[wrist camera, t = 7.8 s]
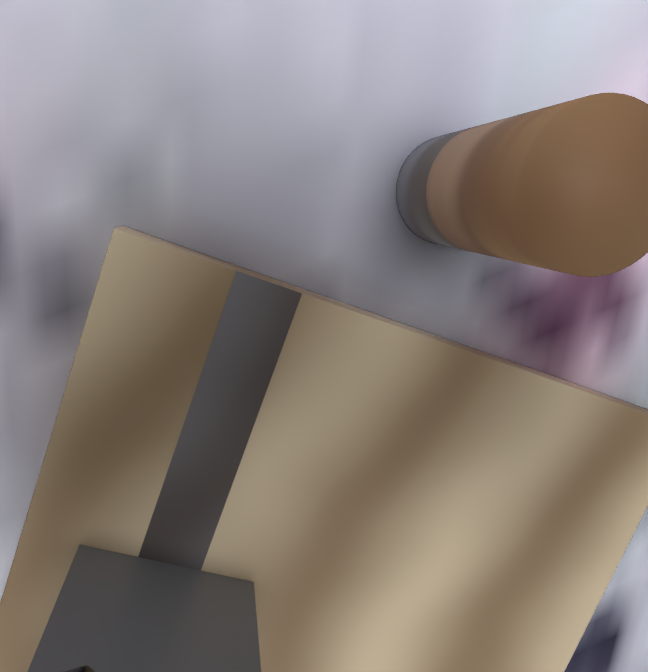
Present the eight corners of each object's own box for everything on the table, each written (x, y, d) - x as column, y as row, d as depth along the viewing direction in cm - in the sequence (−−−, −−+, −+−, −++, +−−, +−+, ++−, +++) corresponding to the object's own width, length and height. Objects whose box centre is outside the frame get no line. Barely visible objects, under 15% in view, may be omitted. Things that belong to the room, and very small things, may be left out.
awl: (512, 211, 17) (702, 222, 10) (424, 263, 17) (558, 308, 10) (470, 114, 16) (647, 57, 9) (377, 169, 16) (490, 151, 9)
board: (659, 413, 19) (687, 427, 18) (494, 748, 22) (510, 780, 21) (122, 225, 15) (113, 228, 14) (-14, 668, 17) (-30, 701, 16)
